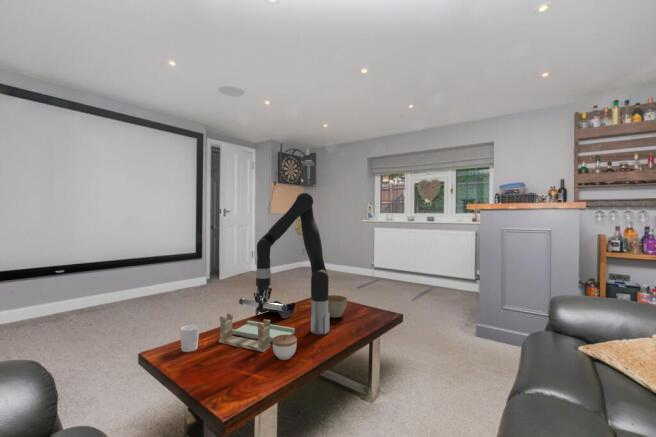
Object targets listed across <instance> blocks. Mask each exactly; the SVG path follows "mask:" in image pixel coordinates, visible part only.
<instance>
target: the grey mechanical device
mask: <svg viewBox="0 0 656 437" xmlns="http://www.w3.org/2000/svg"><path fill="white" fill-rule="evenodd" d="M270 303H275V304H282V305H284V303H282V302H280V301H279V300H275V301H272V302H270ZM285 305H287V311H286V312H284V311H281V310H274V309H268V308H266V309H264V308H263V310H262V311H261V310H259V309H258V307H256V309H255V316H258V314H259V313H261V314H262V313H266V312H268V313H270V312H271V313H277V312H278V315H280V317H281V318H282V319H288V318H289V317H291V316H292V315H293V314H294V313H295V308H296V302H290V303H286V304H285Z"/></svg>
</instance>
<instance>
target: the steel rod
mask: <svg viewBox="0 0 656 437" xmlns="http://www.w3.org/2000/svg"><path fill="white" fill-rule="evenodd" d="M238 304H239V305H244V306H251V307H256V308H257V307H258V303H256V301H255V299H249V298H248V299H247V298H243V297H241V298H240V299H239V300H238ZM282 304H284V303H282ZM282 304H275V303H271V302H268V301H267V302H263V308H268V309H274V310H281V311H284V312H286V311H287V305H286V304H284V305H282Z"/></svg>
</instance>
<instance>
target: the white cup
mask: <svg viewBox="0 0 656 437" xmlns="http://www.w3.org/2000/svg"><path fill="white" fill-rule="evenodd" d="M199 331H200V325H198V324H187V325H184V326H181V327H180V331H179V332H180V347H181V348H180V349H181V351H182V352H185V353H189V352H194V351H196V350H197V349H198V346H199V344H198V343H199V337H200V334H199V333H200V332H199Z"/></svg>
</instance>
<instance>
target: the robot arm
mask: <svg viewBox="0 0 656 437" xmlns="http://www.w3.org/2000/svg"><path fill="white" fill-rule="evenodd" d="M313 204H314V198H313V196H312V195H311V194H310V193H308V192H302V193H300V194H299V195H297V196H296V199H295V201H294V202H293V203H292V205H291V206H290V207H289V209H288V210H287V211H286V212H285V214H283V215H282V216H281V217H280V218H279V219H278V220H276V222H275V223H274V224H273V225H272V226H271V227H270V229H269V230H268V231H267V232H266V233H265V234H264V235H263V236H262V237H261V238H260V239H259V240H258V241H257V243H256V269H255V270H256V271H255V285H256V287H257V289H256V292H253V298H254V300H255V301H256V303H258V309H259V310H261V311H262V310H263V302H268V300H270V298H271V295H272V292H273V289H272V288H271V287H270V286H271V282H272V280H271V275H272V273H271V248H272V246H273V245H274V244H275V243H276V242H277V241H278V240H279V239H280V238H281V237H282V236H283V235H284V234H285V233H286V232H287V231H288V230H289V228H291V226H292V225H293V224H294V222H296V220H297V219H298V218H300V223H301V233H302V238H303V239H302V240H303V245H304V248H305V252H306V254H307V257H308V260H309V263H310V269H311V270H310V271H311V276H310V278H311V279H310V332H311V333H312V334H314V335H326V334H328V333H329V332H330V317H329V316H330V314H329V313H328V295H329V274H328V272H327V268H326V266H325V263H324V262H325V261H324V256H323V245H322V240H321V235H320V231H319V228H318V226H317V223H316V220H315V217H314V211H313ZM264 309H266V308H264Z"/></svg>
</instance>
